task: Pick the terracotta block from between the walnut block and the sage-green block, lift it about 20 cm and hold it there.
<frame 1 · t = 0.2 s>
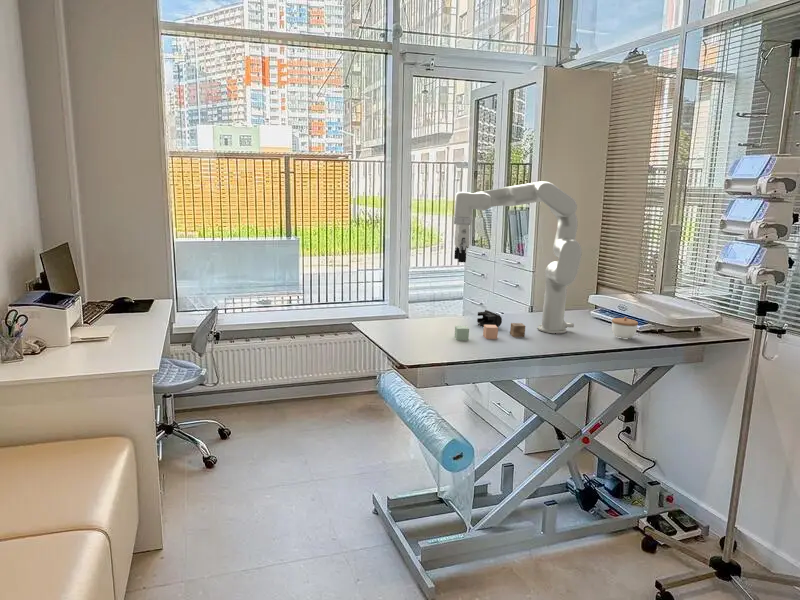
hand: (459, 260, 259), 31 cm above the table, tool pointing down, fingers open, 9 cm apart
walnut block: (517, 335, 259), on the table
lidded jar: (622, 338, 263), on the table
sage block: (461, 338, 249), on the table
end cap: (488, 327, 273), on the table
terracotta block: (490, 337, 254), on the table
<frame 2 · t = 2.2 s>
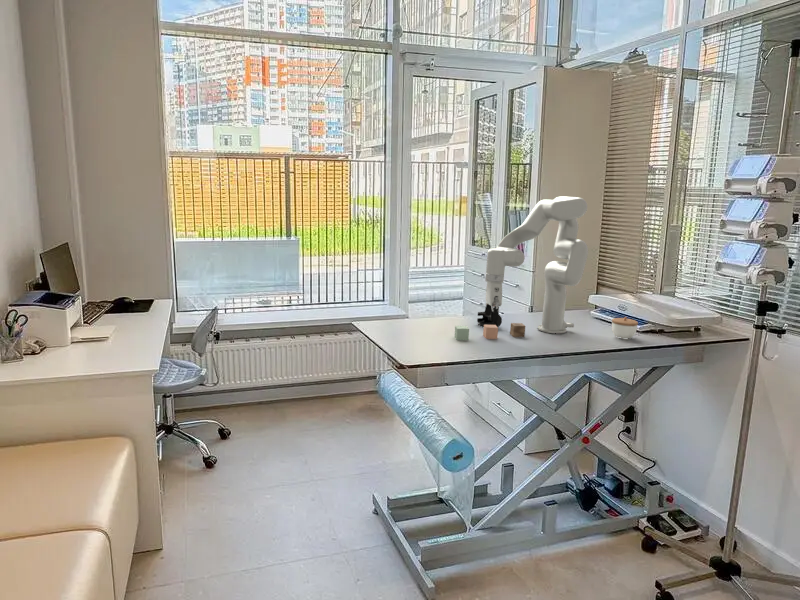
hand: (491, 318, 252), 8 cm above the table, tool pointing down, fingers open, 9 cm apart
nothing on the table moved.
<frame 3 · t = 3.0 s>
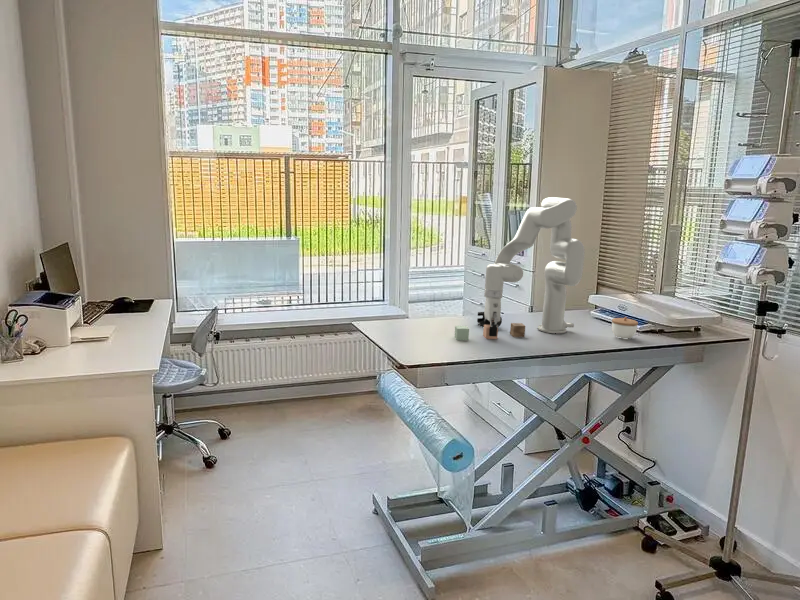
hand: (490, 333, 253), 2 cm above the table, tool pointing down, fingers open, 9 cm apart
nothing on the table moved.
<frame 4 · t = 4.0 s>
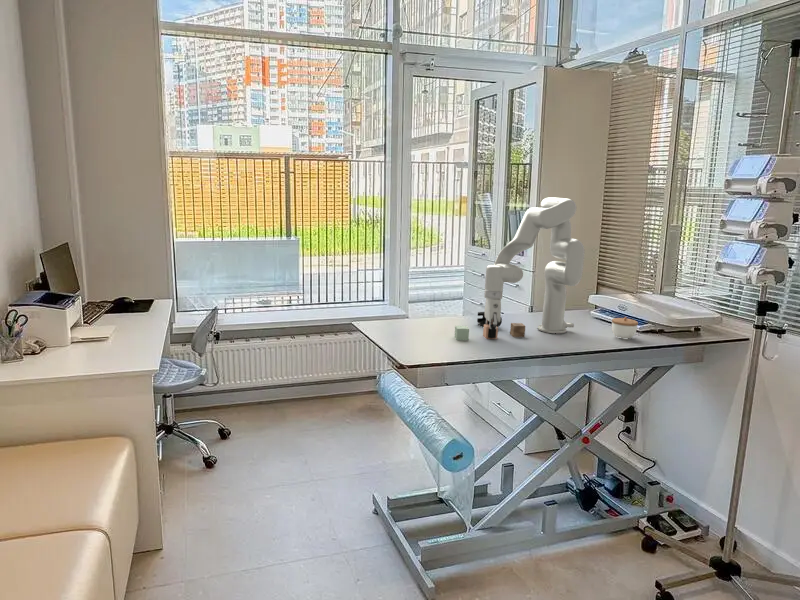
hand: (490, 335, 253), 1 cm above the table, tool pointing down, fingers closed on terracotta block, 5 cm apart
terracotta block: (490, 337, 254), on the table, touching gripper
everything else where it was.
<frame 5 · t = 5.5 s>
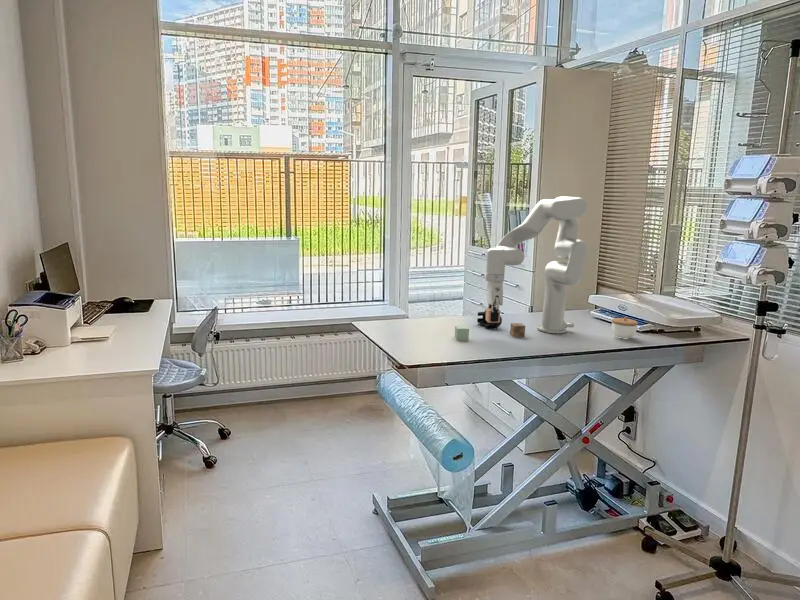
hand: (492, 319, 252), 8 cm above the table, tool pointing down, fingers closed on terracotta block, 5 cm apart
terracotta block: (492, 321, 252), point 7 cm above the table, touching gripper
everything else where it was.
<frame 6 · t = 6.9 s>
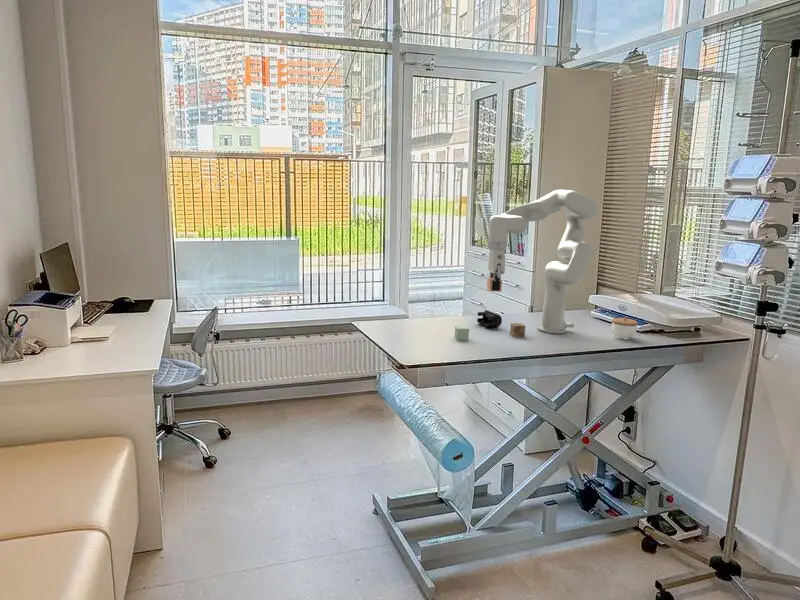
hand: (494, 288, 249), 21 cm above the table, tool pointing down, fingers closed on terracotta block, 5 cm apart
terracotta block: (493, 290, 250), point 20 cm above the table, touching gripper
everything else where it was.
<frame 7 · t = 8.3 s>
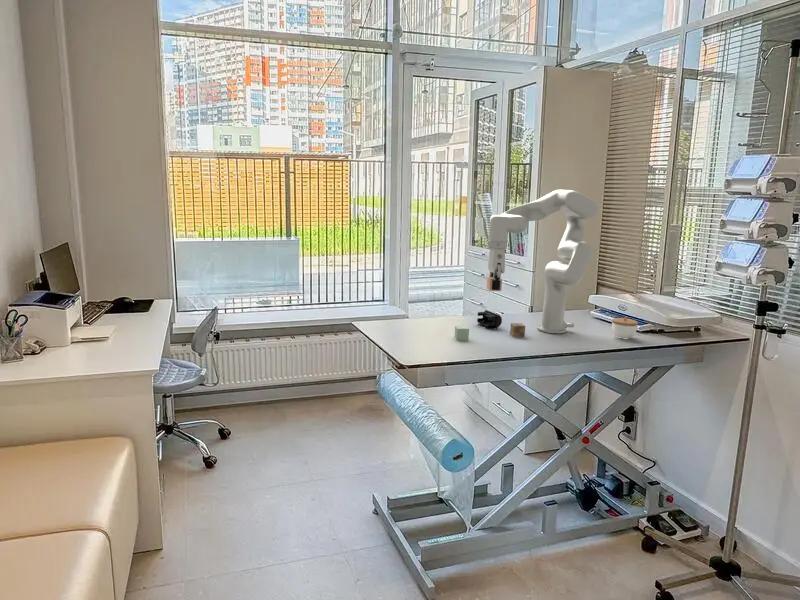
hand: (494, 288, 249), 21 cm above the table, tool pointing down, fingers closed on terracotta block, 5 cm apart
terracotta block: (493, 289, 249), point 21 cm above the table, touching gripper
everything else where it was.
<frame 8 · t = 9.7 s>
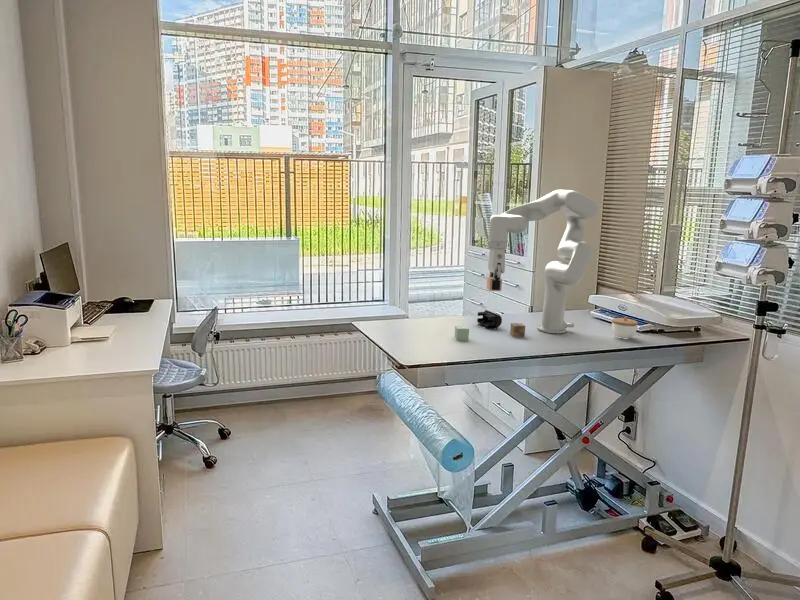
hand: (494, 288, 249), 21 cm above the table, tool pointing down, fingers closed on terracotta block, 5 cm apart
terracotta block: (493, 289, 249), point 21 cm above the table, touching gripper
everything else where it was.
at the end: the gripper is holding terracotta block; terracotta block point 20.6 cm above the table; sage block moved 0.1 cm from its start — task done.
